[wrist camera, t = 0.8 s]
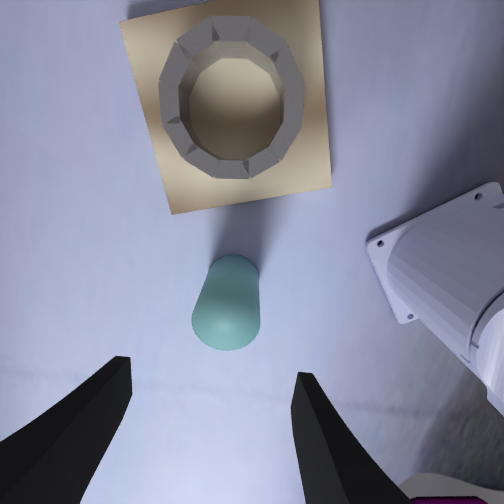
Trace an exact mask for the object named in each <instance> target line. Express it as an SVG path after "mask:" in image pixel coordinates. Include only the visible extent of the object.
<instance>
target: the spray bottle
mask: <svg viewBox="0 0 504 504" xmlns="http://www.w3.org/2000/svg"><path fill="white" fill-rule="evenodd" d="M410 500H411V501H412V502H413V503H414V504H488V503H487V502H485V501H484V500H482V499H480V498H479V497H477V496H428V497H425V496H424V497H423V496H422V497H414V498H411V499H410Z"/></svg>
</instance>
